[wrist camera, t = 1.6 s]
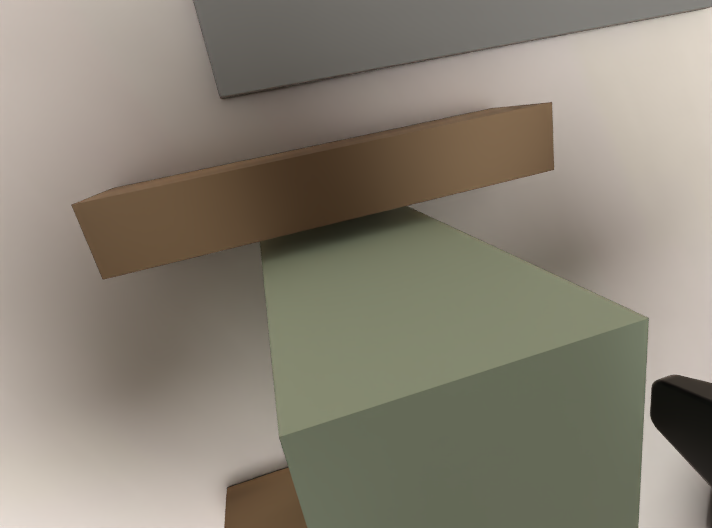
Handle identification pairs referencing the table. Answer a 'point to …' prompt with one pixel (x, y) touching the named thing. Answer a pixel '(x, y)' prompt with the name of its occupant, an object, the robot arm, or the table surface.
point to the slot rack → (307, 215)
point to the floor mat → (386, 32)
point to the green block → (449, 382)
